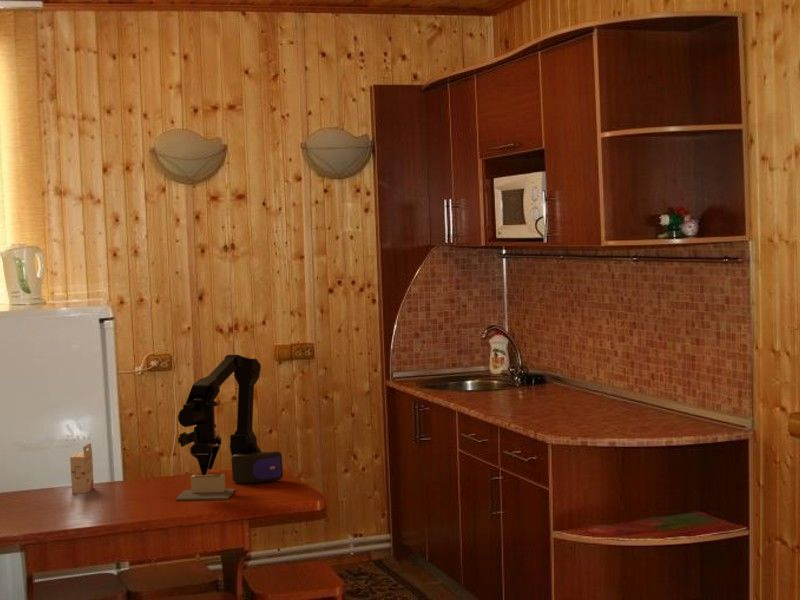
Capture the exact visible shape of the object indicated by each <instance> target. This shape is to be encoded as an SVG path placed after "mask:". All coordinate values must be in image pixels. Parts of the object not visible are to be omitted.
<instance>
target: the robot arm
mask: <svg viewBox="0 0 800 600" xmlns="http://www.w3.org/2000/svg"><path fill="white" fill-rule="evenodd" d="M261 368H262V366H261V363H260V361H259V360H258V359H257V358H249V357H246V356H243V355H240V354H227V355H225V356H224V359H223V360H222V361H221V362H220V363H219V364H218V365H217V366H216V368H214V369H213V370H212V371H211V372H210V374H208V376H205V377H202V378H200V379H198V380H196V381H195V382H194V383H193V384H192V386H191V388H190V391H189V394H188V397H187V399H186V402H185V403H184V404H183V405H182V407H183V408H182V409H181V410H180V411H179V413H178V416H177V420H178V423H179V424H180V425H181V426H182V427H184V428H188V427H189V428H190V427H193V426H194V427H193V430H192V431H189V432H186V431H184V432H182V433H179V436H178V437H177V440H178V441H177V443H178V444H179V446H180V447H181V448H183V447H185V446H187V445H189V444H192V445H191V446H190V448H189V452H190V453H189V454H190V455H191V456H192V457H194V458H195V459H196V460H197V462H198V465H199V468H200V472H201V475H206V474H207V473H208V470H213V466H214V465H215V461H216V458H217V456H218V453H219V451H220V448H221V444H222V437H221V436H220V435H218V434H217V435H216V428H217V424H216V421H215V407H217V406H218V405H219V404H218V403H217V402H216V401H215V400H216V398H217V397H218V395H219V394H220V391H221V390H220V388H221V386H222V385H223V384H224V383H225V381H227V379H229V377H230V376H231V375H232V374H233V375H234V379H235V381H236V382H237V385H238V392H237V393H238V395H237V397H238V399H237V421H236V422H237V423H236V430H235V432H234V433H233V434H230V437H229V438H230V439H229V440H230V441H229V442H230V443H229V451H230V454H231V457H232V456H233V455H235V454H246V453H259V452H263V451H262V450H261V448H260V447H259V446H258V441H257V436H256V435H255V432H254V431H253V417H254V416H253V415H254V394H255V391H254V389H255V385H256V383H257V382H258V381H259V380H260V373H261Z"/></svg>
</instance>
